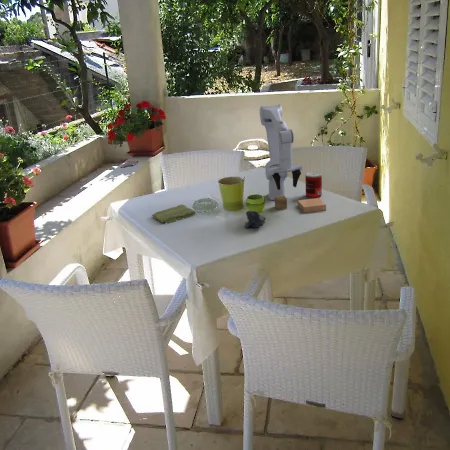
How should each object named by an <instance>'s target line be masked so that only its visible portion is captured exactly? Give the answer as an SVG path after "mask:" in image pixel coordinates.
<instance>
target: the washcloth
mask: <svg viewBox="0 0 450 450" xmlns="http://www.w3.org/2000/svg"><path fill="white" fill-rule="evenodd" d="M193 215H194V216H195V215H196V210H194V209H191V208H189V207H188V206H186V205H185V204H178V205H177V206H172V207H169V208H166V209H163V210H160V211H156V212H154V213H153V214H152V215H151V217H152V216H153V217H154V218H153V217H152V218H153V219H156V221H159V222H161V223H163V224H165V223H168V224H171V223H174V222H177V221H176V220H178V221H181V220H184V219H187V218H190V216H191V217H193ZM183 218H184V219H183ZM180 219H181V220H180ZM173 221H174V222H173ZM164 222H165V223H164ZM170 222H171V223H170Z"/></svg>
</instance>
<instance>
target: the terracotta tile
mask: <svg viewBox="0 0 450 450" xmlns="http://www.w3.org/2000/svg"><path fill="white" fill-rule="evenodd" d="M297 206H298V207H299V208H300V209H301V211H302V212H303V213H304V214H305V213H311V212H312V213H314V212H321V211H326V210H327V204H326V203H325V202H324V201H323V200H322V199H321V197H319V198H308V199H300V200H297Z"/></svg>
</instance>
